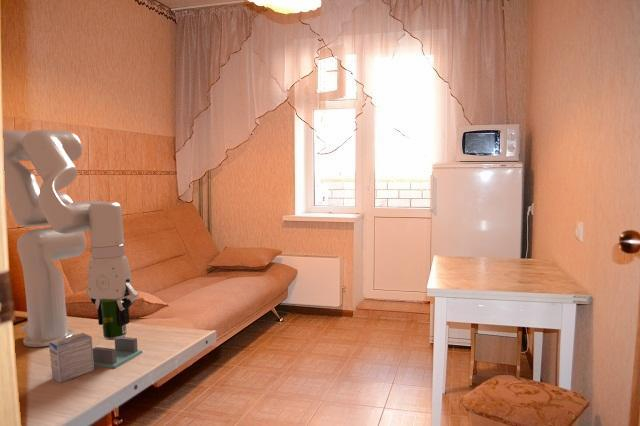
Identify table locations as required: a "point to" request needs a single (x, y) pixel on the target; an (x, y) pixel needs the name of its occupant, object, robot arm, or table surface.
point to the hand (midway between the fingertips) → (114, 323)
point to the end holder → (116, 353)
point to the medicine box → (71, 357)
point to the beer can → (111, 320)
